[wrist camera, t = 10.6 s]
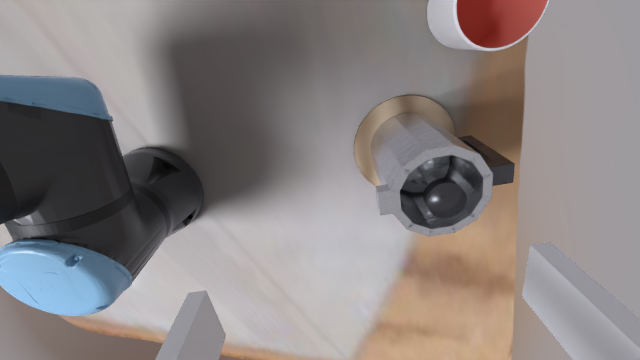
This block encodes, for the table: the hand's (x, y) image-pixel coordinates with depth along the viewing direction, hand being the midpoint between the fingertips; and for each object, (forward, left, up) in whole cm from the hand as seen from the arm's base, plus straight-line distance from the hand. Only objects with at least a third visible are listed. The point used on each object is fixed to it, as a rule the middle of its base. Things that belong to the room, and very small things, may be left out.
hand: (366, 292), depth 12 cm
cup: (+19, +10, -37) cm, 43 cm away
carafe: (+10, -8, -36) cm, 38 cm away
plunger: (+10, -8, -29) cm, 32 cm away
